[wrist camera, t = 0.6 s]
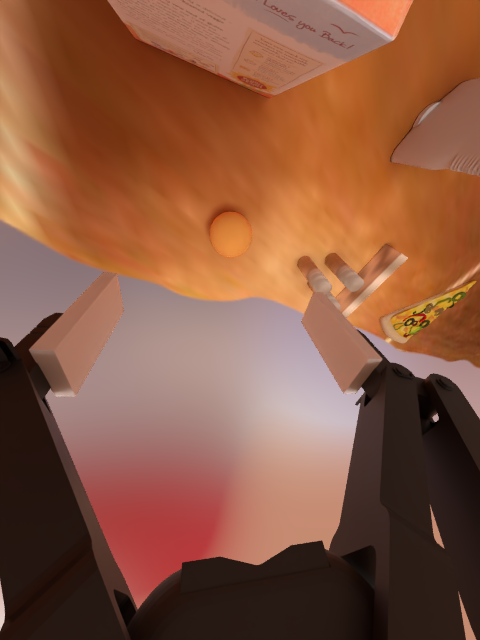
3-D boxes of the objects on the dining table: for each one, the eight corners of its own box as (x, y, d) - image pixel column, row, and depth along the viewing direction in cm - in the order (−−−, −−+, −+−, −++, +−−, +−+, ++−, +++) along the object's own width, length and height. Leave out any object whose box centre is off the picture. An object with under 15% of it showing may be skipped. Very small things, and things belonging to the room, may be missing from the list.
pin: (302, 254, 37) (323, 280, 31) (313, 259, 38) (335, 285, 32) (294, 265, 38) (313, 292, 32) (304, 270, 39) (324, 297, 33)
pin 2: (331, 251, 37) (356, 276, 31) (340, 256, 38) (367, 281, 32) (322, 262, 39) (345, 289, 33) (331, 267, 40) (355, 293, 34)
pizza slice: (372, 319, 53) (379, 328, 51) (465, 259, 44) (479, 266, 42) (393, 342, 61) (401, 350, 59) (476, 295, 52) (488, 302, 50)
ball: (218, 198, 29) (221, 211, 25) (255, 217, 32) (264, 232, 27) (203, 237, 33) (203, 255, 28) (237, 252, 35) (243, 270, 31)
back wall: (385, 243, 38) (401, 253, 35) (392, 247, 39) (408, 257, 36) (320, 314, 48) (327, 327, 45) (326, 317, 49) (334, 329, 46)
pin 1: (313, 274, 40) (333, 301, 34) (322, 278, 41) (343, 305, 35) (305, 284, 42) (323, 312, 35) (314, 288, 43) (333, 315, 36)
